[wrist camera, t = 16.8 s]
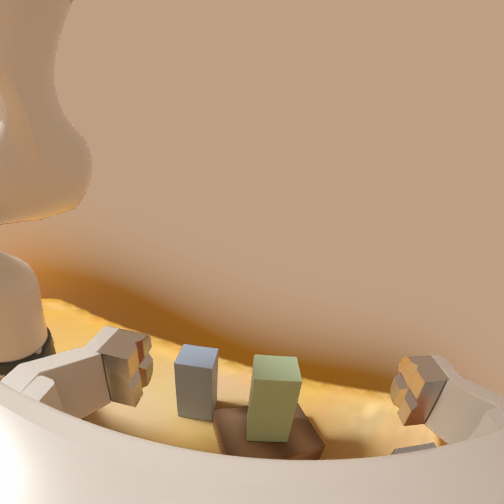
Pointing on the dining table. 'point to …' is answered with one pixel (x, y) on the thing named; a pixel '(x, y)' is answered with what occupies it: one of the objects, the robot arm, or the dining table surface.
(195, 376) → the blue block
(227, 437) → the walnut brick
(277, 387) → the green block
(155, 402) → the dining table surface
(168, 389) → the dining table surface
